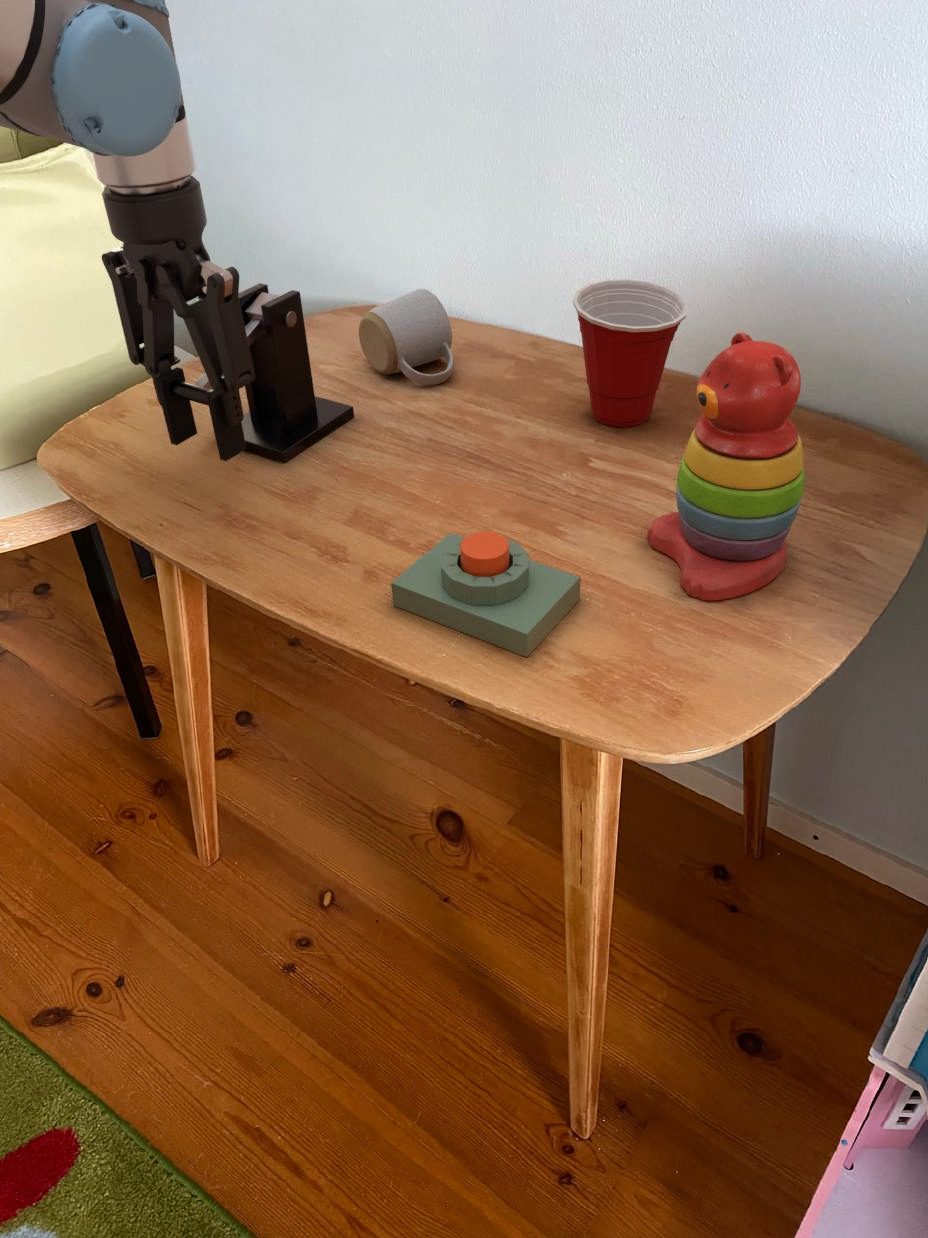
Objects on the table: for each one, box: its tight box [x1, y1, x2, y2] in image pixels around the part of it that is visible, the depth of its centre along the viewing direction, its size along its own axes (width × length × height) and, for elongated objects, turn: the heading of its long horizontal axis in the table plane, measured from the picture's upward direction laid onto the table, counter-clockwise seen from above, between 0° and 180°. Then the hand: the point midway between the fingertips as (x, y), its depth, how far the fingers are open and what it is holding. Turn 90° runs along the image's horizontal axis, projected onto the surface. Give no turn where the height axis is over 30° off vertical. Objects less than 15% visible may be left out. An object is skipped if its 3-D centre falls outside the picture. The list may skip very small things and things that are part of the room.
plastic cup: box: [572, 278, 690, 428], centre depth 96 cm, size 11×11×12 cm
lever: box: [169, 292, 280, 406], centre depth 90 cm, size 13×6×2 cm, turn 148°
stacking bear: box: [646, 332, 805, 601], centre depth 74 cm, size 11×10×18 cm
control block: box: [390, 532, 582, 658], centre depth 75 cm, size 12×8×4 cm, turn 56°
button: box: [460, 531, 509, 577], centre depth 73 cm, size 4×4×2 cm
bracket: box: [213, 282, 355, 464], centre depth 95 cm, size 11×9×14 cm
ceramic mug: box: [358, 288, 454, 386], centre depth 107 cm, size 11×8×8 cm
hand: (208, 445), depth 91 cm, fingers closed on lever, 5 cm apart
